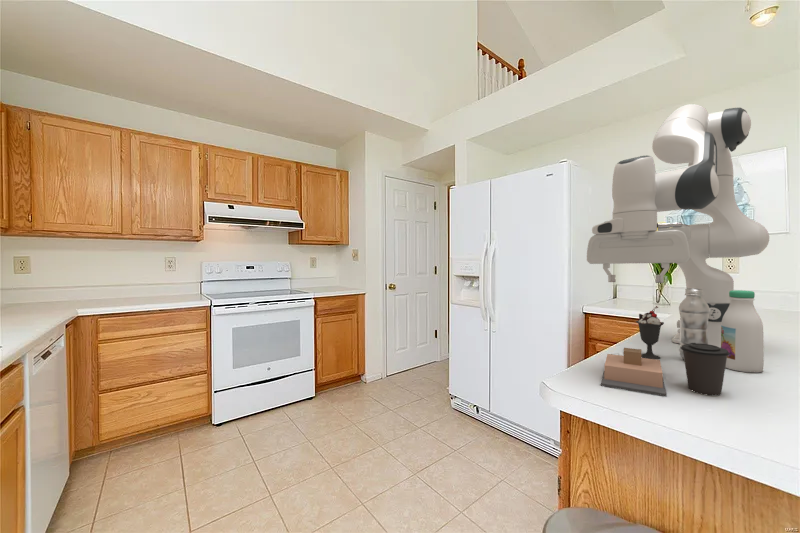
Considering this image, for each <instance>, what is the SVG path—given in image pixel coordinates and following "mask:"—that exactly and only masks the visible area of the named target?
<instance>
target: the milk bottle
mask: <svg viewBox="0 0 800 533" xmlns="http://www.w3.org/2000/svg"><path fill="white" fill-rule="evenodd" d="M755 295H756V294H755V292H754V291H753V290H742V289H741V290H735V289H734V290H732V291H729V297H730V298H729V299H730V305H729V307H728V309H727V311H726V312H725V314H724V316H723V318H722V323H721V348H723V349H726V350H728V352H729V353H730V355H728V356H727V360H726V366H725V369H726V368H727V370H729V369H730V370H732V371H736V372H743V373H751V374H754V373H757V374H758V373H762V372H763V371H764V361H765V360H764V351H765V350H764V349H765V348H764V343H765V342H764V324H763V321H762V318H761V316H760V315H759V313H758V312H757V310H756V308H755V304H754V301H755V300H756V299H755Z"/></svg>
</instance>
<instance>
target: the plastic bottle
mask: <svg viewBox="0 0 800 533" xmlns="http://www.w3.org/2000/svg"><path fill="white" fill-rule="evenodd" d="M684 296H685V297H684V299H683V300H682V301H681V302H680V304H679V305H678V312H679V319H680V318H681V326H682V335H681V343H679V349H678V351H679V355H680V357H681V358H682V359H683V360H684V354H683V350H682V349H681V348H680V347H682V345H685V344H690V343H700V344H708V336H707V328H708V318H709V312H710V308H709V306H708V304H707V303H706V302H705V301H704V300H703V298H702V296H703V289H695V288H685V292H684Z"/></svg>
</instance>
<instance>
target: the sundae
mask: <svg viewBox="0 0 800 533" xmlns="http://www.w3.org/2000/svg"><path fill="white" fill-rule="evenodd" d="M658 308H659V306H657V305H655V307H654V308H652V310H649V312H645V313H644V314H642V313H638V320H635V323H637V324H638V329H639V334H640V339H641V341H642V342H643V343H644V344H645V345H646V347H647V348H646V352H645V353H641V358H647V359H655V360H660V359H661V357H660V356H659V355H656V354H655V353H653V352H654V351H653V345H655V344H656V343H658V342H659V338H660V332H661V327H662V326H663V325H664V324H665V322H663V321H661V320H660V318H659V317H658V314H657V313H655V310H656V309H658Z"/></svg>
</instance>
